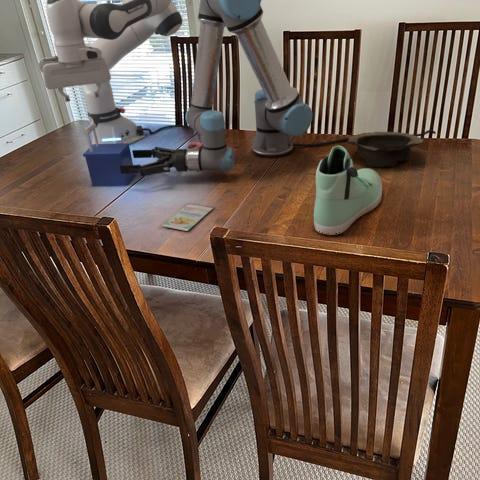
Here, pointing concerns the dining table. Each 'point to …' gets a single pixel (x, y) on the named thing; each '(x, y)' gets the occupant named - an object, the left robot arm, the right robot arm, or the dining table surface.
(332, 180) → the sneaker
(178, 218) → the baking ingredient package
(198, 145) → the candy cane
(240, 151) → the dining table surface
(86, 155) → the lid
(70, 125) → the dining table surface
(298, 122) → the right robot arm
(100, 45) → the left robot arm
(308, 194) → the dining table surface
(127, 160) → the chest
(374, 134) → the stone bowl
